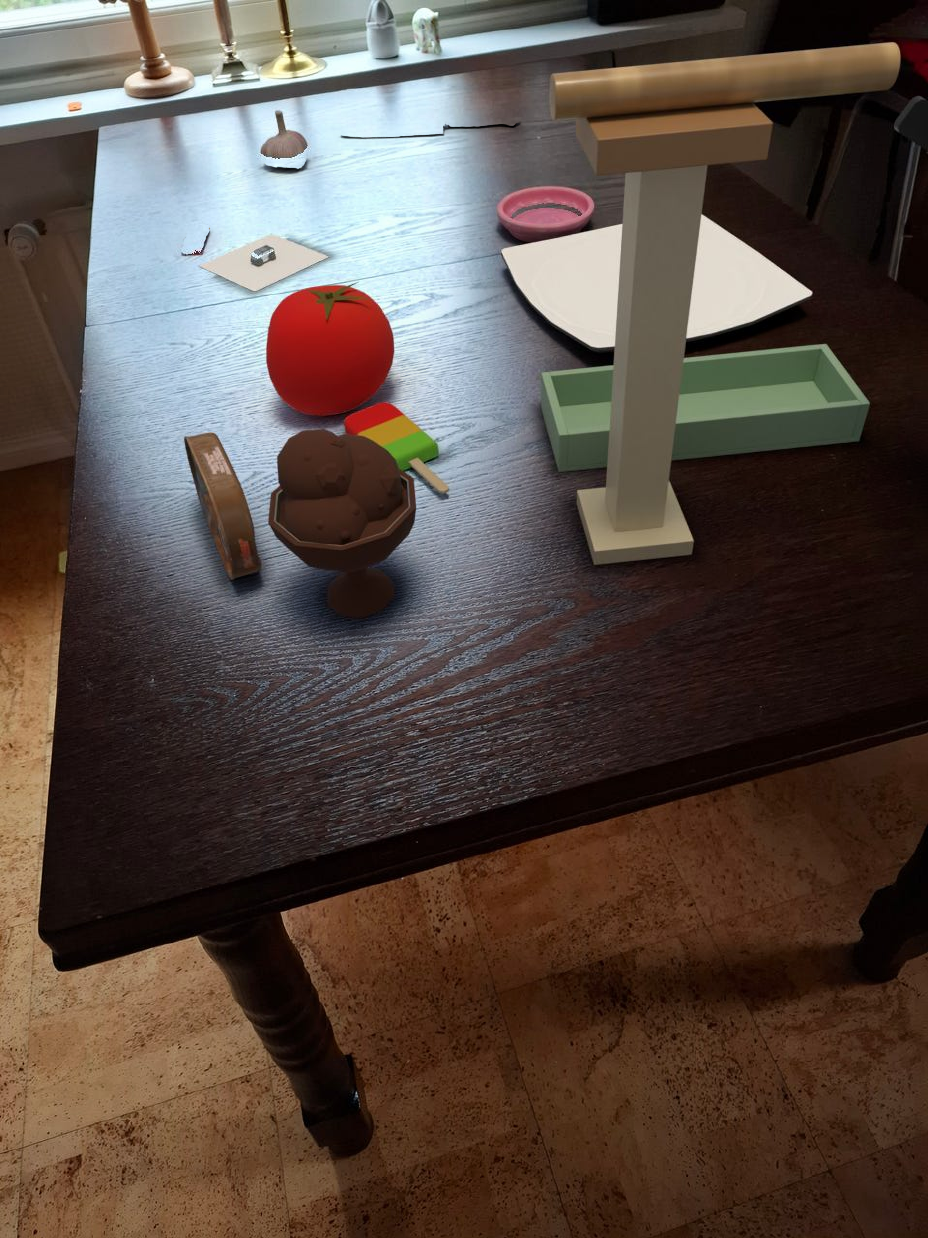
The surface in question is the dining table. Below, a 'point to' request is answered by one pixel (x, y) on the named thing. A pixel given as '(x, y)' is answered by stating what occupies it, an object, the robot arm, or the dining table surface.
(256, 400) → the dining table surface
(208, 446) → the tin
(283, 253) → the beige placemat
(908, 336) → the dining table surface
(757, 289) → the plate
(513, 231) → the saucer
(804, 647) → the dining table surface
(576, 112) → the wooden rod
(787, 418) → the tray
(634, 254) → the stand
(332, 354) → the tomato
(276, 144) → the garlic bulb
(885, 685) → the dining table surface
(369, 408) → the popsicle
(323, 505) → the ice cream bowl
